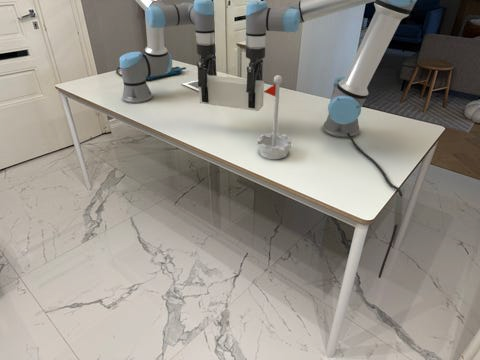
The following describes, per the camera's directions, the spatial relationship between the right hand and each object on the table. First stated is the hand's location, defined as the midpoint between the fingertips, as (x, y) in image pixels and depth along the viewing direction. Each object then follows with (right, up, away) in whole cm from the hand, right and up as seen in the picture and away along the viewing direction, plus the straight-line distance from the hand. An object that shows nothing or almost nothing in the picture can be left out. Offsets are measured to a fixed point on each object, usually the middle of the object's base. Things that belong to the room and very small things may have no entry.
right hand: (254, 104), depth 142 cm
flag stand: (+7, -21, -9) cm, 24 cm away
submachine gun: (-60, +39, +82) cm, 109 cm away
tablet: (-23, +23, +59) cm, 67 cm away
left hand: (-20, +4, +6) cm, 21 cm away
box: (-10, +1, +4) cm, 11 cm away
